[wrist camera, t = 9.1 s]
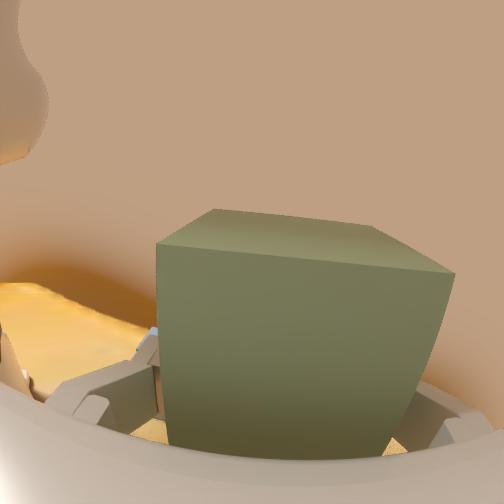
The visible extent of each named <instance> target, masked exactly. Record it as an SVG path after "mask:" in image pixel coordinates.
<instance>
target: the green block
mask: <svg viewBox="0 0 504 504" xmlns="http://www.w3.org/2000/svg"><path fill="white" fill-rule="evenodd" d="M454 278H455V273H453V272H452V271H450V270H449V269H447V268H445V267H443V266H442V265H440V264H438V263H437V262H435V261H433V260H431V259H430V258H428V257H426V256H424V255H423V254H421V253H419V252H418V251H416V250H414V249H412V248H410V247H409V246H407V245H405V244H403V243H402V242H400V241H398V240H396V239H394V238H392V237H390V236H388V235H387V234H385V233H383V232H381V231H379V230H377V229H376V228H374V227H372V226H367V225H360V224H352V223H344V222H336V221H328V220H319V219H311V218H302V217H293V216H284V215H274V214H264V213H254V212H243V211H232V210H221V209H213V210H211V211H209V212H207V213H206V214H204V215H202V216H201V217H199V218H197V219H196V220H194V221H193V222H191V223H189V224H187V225H186V226H184V227H182V228H181V229H179V230H178V231H176V232H174V233H173V234H171V235H169V236H168V237H166V238H165V239H163V240H161V241H160V242H158V243H156V295H157V296H156V300H157V327H158V345H159V360H160V372H161V384H162V394H163V403H164V412H165V420H166V428H167V435H168V442H169V445H171V446H176V447H181V448H186V449H191V450H197V451H203V452H209V453H216V454H223V455H231V456H240V457H250V458H263V459H280V460H337V459H355V458H367V457H377V456H381V455H382V454H383V452H384V450H385V449H386V447H387V445H388V444H389V442H390V440H391V438H392V436H393V435H394V433H395V431H396V429H397V427H398V425H399V423H400V421H401V419H402V418H403V416H404V414H405V412H406V410H407V407H408V405H409V403H410V401H411V399H412V397H413V395H414V393H415V390H416V388H417V386H418V384H419V381H420V379H421V376H422V374H423V372H424V369H425V367H426V365H427V362H428V360H429V357H430V354H431V352H432V349H433V346H434V344H435V341H436V338H437V335H438V332H439V329H440V326H441V323H442V320H443V317H444V314H445V310H446V307H447V304H448V300H449V296H450V293H451V290H452V286H453V282H454Z"/></svg>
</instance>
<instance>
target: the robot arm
mask: <svg viewBox="0 0 504 504" xmlns="http://www.w3.org/2000/svg"><path fill="white" fill-rule="evenodd" d="M20 1H21V0H0V165H3V164H6V163H9V162H12V161H15V160H18V159H22V158H24V157H25V156H26V155H27V154H28V153H29V152H30V151H31V150H32V148H33V147H34V146H35V144H36V143H37V141H38V139H39V138H40V136H41V134H42V131H43V129H44V126H45V123H46V119H47V114H48V93H47V89H46V85H45V83H44V81H43V79H42V77H41V75H40V74H39V72H37V70H36V69H35V68H34V67H33V66H32V64H31V63H30V62H29V60H28V58H27V57H26V55H25V53H24V51H23V49H22V46H21V43H20V39H19V34H18V23H17V22H18V10H19V5H20ZM29 383H30V377H29V375H28V373H27V371H26V370H24V369H21V368H20V365H19V363H18V361H17V358H16V356H15V353H14V351H13V348H12V346H11V343H10V341H9V338H8V336H7V334H6V333H5V332H3V331H2V328H1V324H0V504H504V428H502V429H499V430H496V431H495V430H494V428H493V427H492V426H491V424H490V423H489V421H488V420H487V418H486V417H485V416H484V414H483V413H482V412H481V411H480V410H478V409H476V408H475V407H473V406H471V405H469V404H467V403H465V402H463V401H461V400H459V399H457V398H455V397H453V396H451V395H450V394H448V393H446V392H444V391H442V390H440V389H438V388H436V387H434V386H433V385H431V384H429V383H423V382H422V380H421V379H420V381H419V384H418V386H417V388H416V390H415V393H414V395H413V397H412V399H411V401H410V403H409V405H408V407H407V410H406V412H405V414H404V416H403V418H402V419H401V421H400V423H399V425H398V427H397V429H396V431H395V433H394V435H393V436H392V437H393V438H394V439H395V440H396V441H397V442H398V443H400V444H401V445H402V446H403V447H404V448H405V449H406V450H407V451H408V452H407V453H401V454H394V455H386V456H377V457H367V458H355V459H337V460H280V459H263V458H250V457H240V456H231V455H223V454H216V453H209V452H203V451H197V450H191V449H186V448H181V447H176V446H171V445H166V444H162V443H158V442H154V441H150V440H146V439H142V438H138V437H134V436H131V435H128V434H130V433H131V432H133V431H134V430H136V429H137V428H139V427H140V426H142V425H143V424H145V423H146V422H148V421H149V420H151V419H152V418H154V417H155V416H157V415H158V413H160V414H165V412H164V403H163V394H162V384H161V372H160V360H159V345H158V336H155V335H149V336H148V337H147V338H146V340H145V341H144V343H143V344H142V345H141V347H140V348H139V349H138V351H137V352H136V354H135V355H134V356H133V358H132V359H131V361H129V360H124V361H122V362H119V363H116V364H113V365H111V366H108V367H105V368H102V369H99V370H97V371H94V372H91V373H88V374H85V375H82V376H79V377H76V378H73V379H70V380H67V381H64V382H62V383H61V384H60V385H59V387H58V388H57V389H56V390H55V391H54V392H53V393H52V394H51V395H50V397H49V398H48V399H47V400H46V401H45V402H44V403H41V402H39V401H37V400H35V399H34V398H33V396H32V394H31V392H30V390H29Z"/></svg>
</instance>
